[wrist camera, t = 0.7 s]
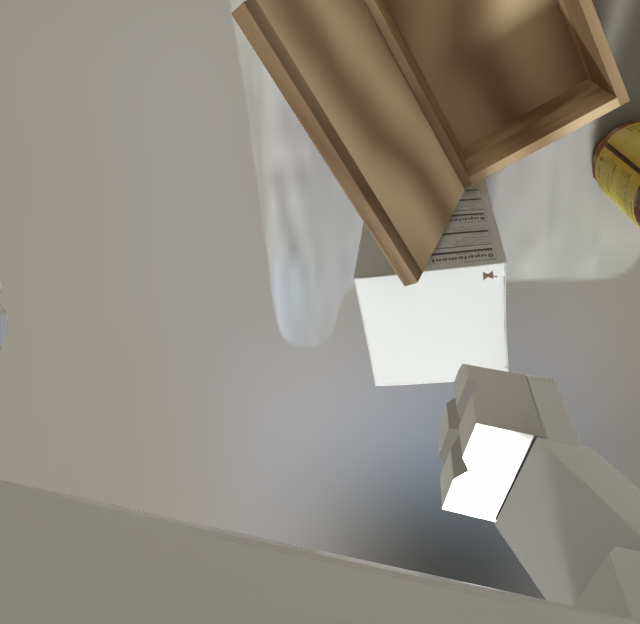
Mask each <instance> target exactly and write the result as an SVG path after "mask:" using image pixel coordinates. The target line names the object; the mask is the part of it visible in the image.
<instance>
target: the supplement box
mask: <svg viewBox="0 0 640 624" xmlns="http://www.w3.org/2000/svg"><path fill="white" fill-rule="evenodd" d="M451 166H452V165H451ZM452 168H453V167H452ZM453 169H454V168H453ZM454 171H455V170H454ZM455 173H456V172H455ZM456 175H457V174H456ZM457 177H458V176H457ZM458 179H459V178H458ZM459 181H460V180H459ZM460 182H461V181H460ZM461 184H462V183H461ZM462 186H463V185H462ZM463 188H464V187H463ZM464 190H465V191H464V193H463V195H462V197H461V199H460V200H459V202H458V204H457V206H456V208H455V210H454V212H453V214H452V216H451V218H450V220H449V222H448V224H447V226H446V228H445V230H444V232H443V234H442V236H441V238H440V240H439V242H438V244H437V246H436V248H435V250H434V252H433V254H432V255H431V257H430V259H429V261H428V263H427V265H426V267H425V269H424V271H423V273H422V275H421V277H420V279H419V281H418V283H415V284H412V285H408V286H405V287H404V285H403V283H402V282H401V280H400V279H399V277H398V276H397V274H396V272H395V271H394V269H393V268H392V266H391V265H390V263H389V261H388V260H387V258H386V257H385V255H384V254H383V252H382V250H381V249H380V247H379V246H378V244H377V242H376V241H375V239H374V238H373V236H372V235H371V233H370V231H369V230H368V228H367V227H366V225H365V224H364V223H363V229H362V235H361V240H360V246H359V251H358V257H357V262H356V268H355V273H354V282H355V287H356V291H357V296H358V301H359V306H360V311H361V316H362V320H363V326H364V330H365V334H366V340H367V345H368V350H369V355H370V360H371V365H372V370H373V375H374V380H375V385H376V386H389V385H410V384H424V383H440V382H441V383H442V382H454V381H455V378H456V375H457V373H458V370H459V368H460V367H461V365H462V364H468V365H473V366H479V367H484V368H490V369H495V370H501V371H506V372H509V367H508V351H507V331H506V267H507V261H506V257H505V253H504V250H503V246H502V242H501V238H500V235H499V231H498V227H497V224H496V220H495V217H494V214H493V210H492V206H491V202H490V198H489V194H488V190H487V187H486V183H485V179H482V180H480V181H478V182H476V183H474V184H473V185H471V186H469V187H467V188H465V189H464Z"/></svg>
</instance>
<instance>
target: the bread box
mask: <svg viewBox="0 0 640 624" xmlns="http://www.w3.org/2000/svg"><path fill="white" fill-rule="evenodd" d="M363 2H364V3H365V5H366V7H367V9H368V11H369V13H370V15H371V16H372V18H373V20H374V22H375V24H376V26H377V28H378V29H379V31H380V33H381V35H382V37H383V39H384V41H385V42H386V44H387V46H388V48H389V50H390V52H391V53H392V55H393V57H394V59H395V61H396V63H397V65H398V66H399V68H400V70H401V72H402V74H403V76H404V78H405V79H406V81H407V83H408V85H409V87H410V89H411V91H412V92H413V94H414V96H415V98H416V100H417V102H418V104H419V105H420V107H421V109H422V111H423V113H424V115H425V117H426V118H427V120H428V122H429V124H430V126H431V128H432V130H433V131H434V133H435V135H436V137H437V139H438V141H439V143H440V144H441V146H442V148H443V150H444V152H445V154H446V156H447V157H448V159H449V161H450V163H451V165H452V167H453V168H454V170H455V172H456V174H457V176H458V178H459V180H460V181H461V183H462V185H463V187H464V189H465V188H467V187H469V186H471V185H473V184H474V183H476V182H478V181H480V180H482V179H484V178H486V177H488V176H490V175H491V174H493V173H495V172H497V171H499V170H501V169H503V168H505V167H507V166H508V165H510V164H512V163H514V162H516V161H518V160H520V159H522V158H524V157H525V156H527V155H529V154H531V153H533V152H535V151H537V150H539V149H540V148H542V147H544V146H546V145H548V144H550V143H552V142H554V141H556V140H557V139H559V138H561V137H563V136H565V135H567V134H569V133H571V132H573V131H574V130H576V129H578V128H580V127H582V126H584V125H586V124H588V123H590V122H591V121H593V120H595V119H597V118H599V117H601V116H603V115H605V114H606V113H608V112H610V111H612V110H614V109H616V108H618V107H620V106H622V105H623V104H625V103H627V102H629V101H630V99H629V96H628V93H627V91H626V88H625V86H624V83H623V80H622V78H621V75H620V73H619V70H618V67H617V65H616V62H615V60H614V57H613V54H612V52H611V49H610V47H609V44H608V41H607V39H606V36H605V34H604V31H603V28H602V26H601V23H600V21H599V18H598V15H597V13H596V10H595V7H594V5H593V2H592V0H363Z"/></svg>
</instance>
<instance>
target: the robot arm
mask: <svg viewBox="0 0 640 624" xmlns="http://www.w3.org/2000/svg"><path fill="white" fill-rule="evenodd" d="M1 291H2V285H1V280H0V292H1ZM7 328H8V320H7V313H6V311H5V309H4V308H3V307H2V305H1V304H0V348H1V346H2V344H3V342H4V340H5V338H6V335H7ZM454 390H455V398H454V399H452V400H451V401H449V402H447V403H446V406H445V409H444V413H443V416H442V419H441V424H440V429H439V437H438V453H439V458H440V459H441V460H442V461H443V462H444V467H443V470H442V473H441V475H440V484H441V496H442V509H446V510H450V511H454V512H458V513H463V514H467V515H471V516H475V517H479V518H483V519H487V520H491V521H495V525H496V527H497V528H498V530H499V531H500V532H501V534H502V536H503V537H504V539H505V540H506V541H507V543H508V544H509V546H510V547H511V549H512V550H513V552H514V553H515V555H516V556H517V557H518V559H519V560H520V562H521V564H522V565H523V566H524V568H525V569H526V571H527V572H528V574H529V575H530V577H531V578H532V580H533V581H534V582H535V584H536V586H537V587H538V589H539V590H540V591H541V593H542V594H543V596H544V597H545V599H546V600H543V599H538V598H534V597H530V596H525V595H520V594H516V593H512V592H507V591H503V590H498V589H493V588H489V587H484V586H480V585H475V584H471V583H466V582H461V581H457V580H452V579H447V578H443V577H438V576H434V575H429V574H425V573H420V572H415V571H411V570H406V569H401V568H397V567H392V566H388V565H383V564H378V563H374V562H369V561H365V560H360V559H356V558H351V557H347V556H342V555H338V554H333V553H329V552H324V551H320V550H315V549H311V548H306V547H302V546H298V545H293V544H289V543H284V542H280V541H275V540H271V539H266V538H261V537H257V536H252V535H248V534H244V533H239V532H235V531H230V530H226V529H221V528H217V527H212V526H208V525H203V524H199V523H194V522H190V521H185V520H180V519H176V518H171V517H167V516H163V515H158V514H154V513H149V512H144V511H140V510H136V509H131V508H126V507H122V506H117V505H113V504H108V503H104V502H99V501H94V500H90V499H85V498H81V497H76V496H72V495H67V494H63V493H58V492H54V491H49V490H44V489H40V488H35V487H31V486H26V485H22V484H17V483H13V482H8V481H3V480H0V624H640V489H638V488H637V487H636V486H635V485H634V484H633V483H631V482H630V481H629V480H628V479H627V478H625V477H624V476H623V475H622V474H621V473H620V472H618V471H617V470H616V469H615V468H614V467H613V466H611V465H610V464H609V463H608V462H606V460H604V459H603V458H602V457H601V456H600V455H598V454H597V453H596V452H595V451H594V450H593V449H591V448H586V447H582V445H581V443H580V440H579V438H578V435H577V432H576V430H575V427H574V425H573V422H572V420H571V417H570V415H569V412H568V410H567V407H566V405H565V402H564V400H563V397H562V395H561V392H560V390H559V387H558V385H557V383H556V382H555V381H554V380H553V379H548V378H542V377H536V376H530V375H524V374H517V373H512V372H506V371H501V370H495V369H490V368H484V367H479V366H473V365H468V364H462V365H461V367H460V368H459V370H458V373H457V375H456V378H455V381H454Z"/></svg>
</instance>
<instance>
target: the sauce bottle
mask: <svg viewBox="0 0 640 624" xmlns="http://www.w3.org/2000/svg"><path fill="white" fill-rule="evenodd" d="M593 176H594V178H595V179H596V181H597V182H598V185H599V187H600V188H601V190H602V191H603V192H604V193H605V194H606V195H607V196H608V197H609V198H610V199H611V200H612V201H613V202H614V203H615V204H616V205H617V206H618V207H619V208H620V209H621V210H622V211H623V212H624V213H625V214H626V215H627V216H628V217H629V218H630V219H631V220H632V221H633V222H634V223H635V224H636V225H637V226H638V227H639V228H640V121H629V122H626V123H624V124H623V125H621V126H619V127H617V128H615V129H614V130H613V131H612V132H610V133H609V134H608V135H607V136H606V137H605V138H604V139H603V140H602V141H601V142H600V143H599V145H598V147H597V148H596V150H595V153H594V156H593Z"/></svg>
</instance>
